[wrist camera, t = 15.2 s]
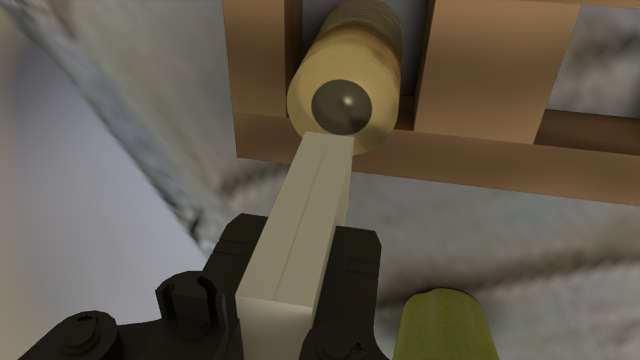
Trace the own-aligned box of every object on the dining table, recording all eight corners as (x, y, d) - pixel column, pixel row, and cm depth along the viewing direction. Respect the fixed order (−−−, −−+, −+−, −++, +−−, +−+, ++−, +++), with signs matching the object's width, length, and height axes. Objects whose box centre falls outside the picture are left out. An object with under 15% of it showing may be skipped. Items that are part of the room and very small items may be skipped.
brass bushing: (398, 82, 25) (392, 161, 19) (320, 76, 26) (288, 150, 19) (408, -1, 23) (405, 58, 16) (321, -5, 23) (284, 49, 17)
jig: (675, 169, 25) (713, 215, 22) (257, 122, 28) (237, 157, 25) (820, -77, 18) (905, -62, 15) (244, -105, 21) (213, -97, 18)
